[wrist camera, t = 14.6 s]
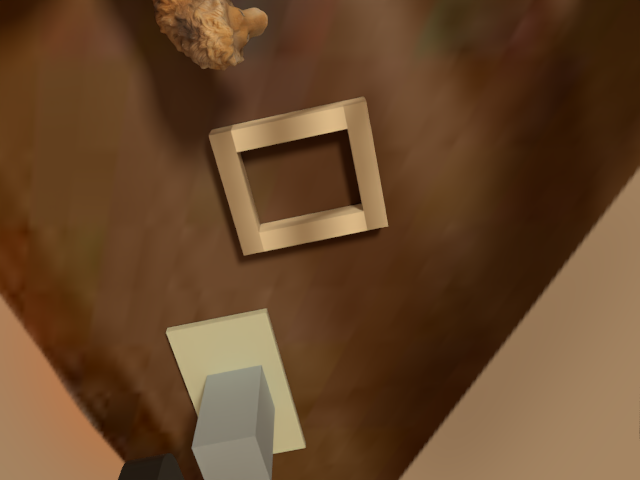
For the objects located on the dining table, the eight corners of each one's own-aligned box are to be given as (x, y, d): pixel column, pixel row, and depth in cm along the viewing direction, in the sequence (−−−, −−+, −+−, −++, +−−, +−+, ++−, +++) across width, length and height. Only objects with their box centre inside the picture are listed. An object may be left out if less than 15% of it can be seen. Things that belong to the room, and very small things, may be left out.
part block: (261, 364, 49) (255, 436, 42) (275, 408, 51) (271, 483, 44) (207, 375, 49) (191, 448, 42) (222, 418, 51) (210, 494, 44)
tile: (266, 308, 48) (266, 312, 47) (305, 442, 54) (305, 447, 53) (167, 327, 48) (165, 332, 48) (216, 459, 54) (215, 464, 53)
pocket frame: (363, 96, 41) (366, 101, 40) (385, 217, 45) (388, 226, 43) (211, 129, 42) (208, 135, 40) (245, 246, 45) (243, 255, 44)
